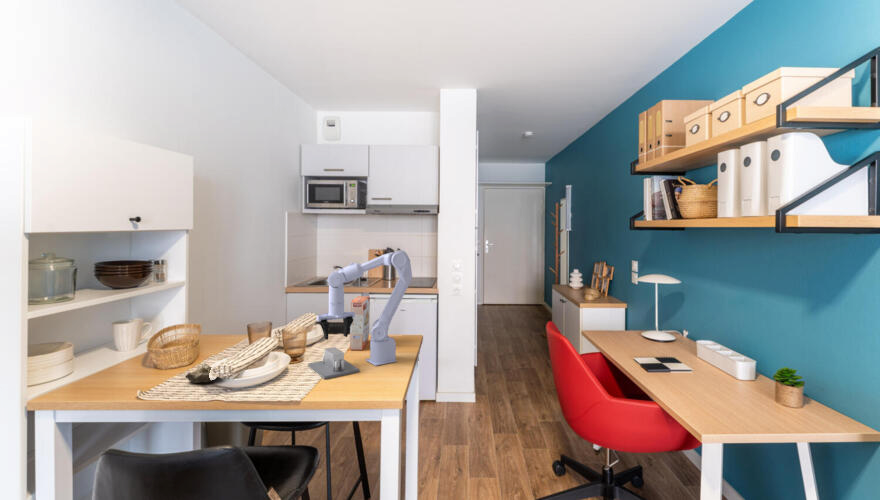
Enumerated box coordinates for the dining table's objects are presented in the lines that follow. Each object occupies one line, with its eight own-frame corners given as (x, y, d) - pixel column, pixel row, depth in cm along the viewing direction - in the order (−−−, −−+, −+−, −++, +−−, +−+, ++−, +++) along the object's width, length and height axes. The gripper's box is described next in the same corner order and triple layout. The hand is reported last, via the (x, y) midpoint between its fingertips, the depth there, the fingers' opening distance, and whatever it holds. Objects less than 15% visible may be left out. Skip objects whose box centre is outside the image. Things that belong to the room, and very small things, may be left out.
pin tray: (340, 359, 160) (341, 348, 159) (359, 372, 147) (359, 359, 147) (308, 366, 152) (308, 354, 151) (324, 379, 139) (324, 366, 139)
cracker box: (363, 350, 172) (364, 301, 170) (349, 350, 172) (349, 301, 171) (369, 341, 186) (370, 295, 184) (356, 341, 186) (356, 295, 184)
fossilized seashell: (179, 379, 130) (211, 384, 131) (188, 358, 133) (219, 364, 134) (189, 383, 137) (219, 388, 137) (197, 363, 140) (227, 368, 141)
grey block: (334, 362, 153) (334, 346, 153) (343, 368, 147) (343, 352, 146) (324, 364, 151) (324, 348, 150) (333, 371, 144) (333, 354, 144)
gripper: (321, 306, 149) (320, 342, 149) (358, 302, 157) (358, 337, 158) (314, 302, 154) (314, 338, 155) (351, 299, 163) (350, 333, 163)
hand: (336, 337), depth 157 cm, fingers open, 7 cm apart
